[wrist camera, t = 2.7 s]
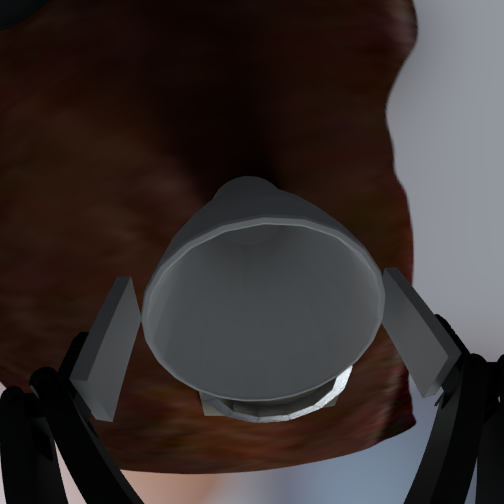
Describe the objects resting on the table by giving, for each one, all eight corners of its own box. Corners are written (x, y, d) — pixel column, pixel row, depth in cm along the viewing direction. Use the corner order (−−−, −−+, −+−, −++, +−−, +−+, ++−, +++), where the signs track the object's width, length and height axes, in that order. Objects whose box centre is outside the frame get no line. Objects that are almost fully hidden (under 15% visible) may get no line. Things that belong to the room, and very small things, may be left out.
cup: (211, 282, 27) (204, 416, 15) (161, 175, 22) (92, 271, 10) (324, 247, 26) (387, 366, 14) (293, 129, 21) (373, 176, 9)
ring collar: (193, 325, 28) (192, 339, 26) (359, 316, 29) (365, 328, 27) (209, 413, 36) (209, 424, 34) (330, 403, 37) (333, 414, 35)
